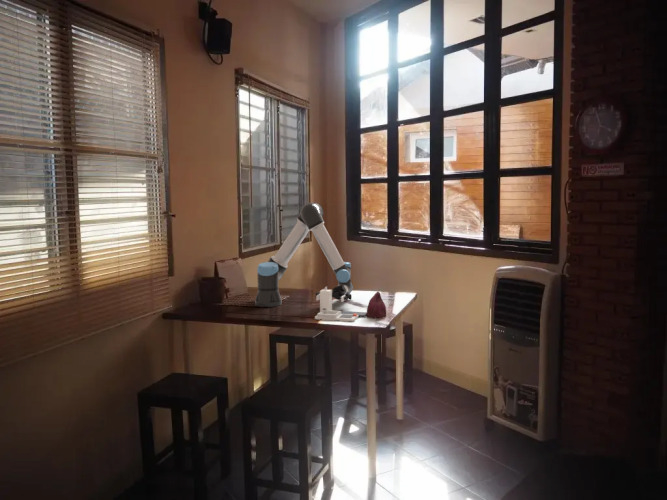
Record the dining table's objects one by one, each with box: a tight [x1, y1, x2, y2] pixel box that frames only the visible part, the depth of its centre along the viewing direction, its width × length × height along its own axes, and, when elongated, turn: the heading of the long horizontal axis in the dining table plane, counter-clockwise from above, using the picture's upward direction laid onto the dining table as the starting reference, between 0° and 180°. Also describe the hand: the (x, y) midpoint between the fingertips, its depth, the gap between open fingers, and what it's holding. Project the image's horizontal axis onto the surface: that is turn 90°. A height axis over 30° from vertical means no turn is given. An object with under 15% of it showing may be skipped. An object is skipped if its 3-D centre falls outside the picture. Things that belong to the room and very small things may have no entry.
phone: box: [340, 310, 367, 318], centre depth 263 cm, size 7×14×1 cm, turn 73°
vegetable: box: [366, 291, 387, 319], centre depth 259 cm, size 10×10×15 cm
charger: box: [319, 286, 333, 312], centre depth 268 cm, size 5×5×14 cm
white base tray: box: [314, 309, 360, 322], centre depth 256 cm, size 20×10×3 cm, turn 73°
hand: (329, 298), depth 270 cm, fingers open, 13 cm apart
